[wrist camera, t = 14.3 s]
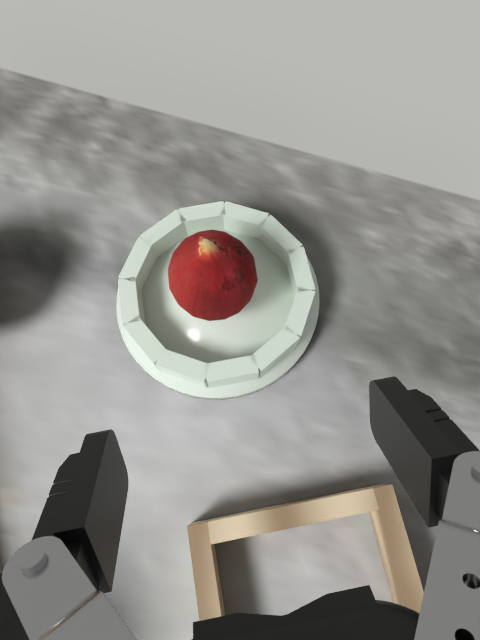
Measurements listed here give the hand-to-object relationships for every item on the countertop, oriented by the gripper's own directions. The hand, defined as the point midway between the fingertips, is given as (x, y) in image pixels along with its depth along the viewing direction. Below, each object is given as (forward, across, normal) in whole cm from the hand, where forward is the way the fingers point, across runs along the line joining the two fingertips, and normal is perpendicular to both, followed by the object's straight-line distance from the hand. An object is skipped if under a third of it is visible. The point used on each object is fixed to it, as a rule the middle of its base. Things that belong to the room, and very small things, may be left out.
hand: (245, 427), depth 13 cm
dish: (+20, 0, +4) cm, 20 cm away
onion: (+19, 0, +3) cm, 19 cm away
